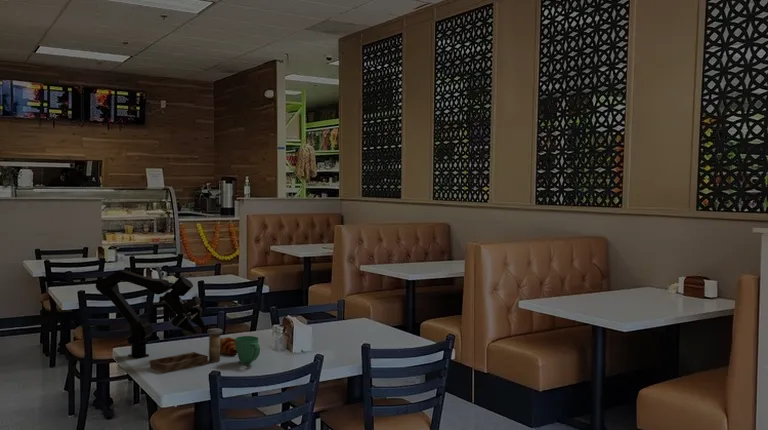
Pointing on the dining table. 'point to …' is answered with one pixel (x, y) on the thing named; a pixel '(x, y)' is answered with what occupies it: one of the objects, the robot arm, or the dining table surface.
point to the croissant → (227, 346)
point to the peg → (214, 344)
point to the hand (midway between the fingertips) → (200, 330)
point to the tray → (178, 362)
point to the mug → (247, 348)
